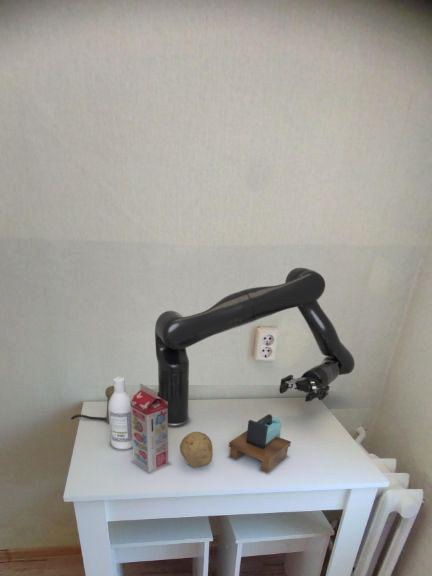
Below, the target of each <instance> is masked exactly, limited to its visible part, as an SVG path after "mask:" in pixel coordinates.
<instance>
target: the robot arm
mask: <svg viewBox="0 0 432 576" xmlns="http://www.w3.org/2000/svg"><path fill="white" fill-rule="evenodd" d="M325 289H326V281H325V278H324V276H323V275H321V274H320V273H319V272H317V271H315V270H314V269H313V270H312V269H309V268H307V267H300V266H299V267H295V268H293V269H291V270H290V271H289V272H288V274H287V275H286V277H285V281H284V283H281V284H277V285H267V286H256V287H250V288H245V289H242V290H239V291H237V292H233V293H230V294H227V295H226V296H224V297H223V298H221V299H220V300H218V301H217V302H216V303H215V304H213V305H212V306H211V307H210V308H207V309H206V310H204V311H201V312H197V313H194V314H191V315H186V316H183V315H182V314H181V313H180V312H178V311H175V310H167V311H163V312H162V313H161V314H160V315H158V317H157V319H156V321H155V325H154V336H155V337H154V342H155V343H154V344H155V357H156V360H157V361H156V362H157V381H158V390H157V392H158V397H160V398H162V399H164V400H166V401H167V402H168V427H174V428H175V427H181V426H185V425H186V424H187V423H188V422H189V393H190V392H189V391H190V390H189V389H190V387H189V386H190V385H189V384H190V360H189V357H188V353H187V348H189V347H191V346H194V345H196V344H197V343H200V342H202V341H203V340H205V339H207V338H210V337H212V336H215V335H219V334H221V333H224V332H227V331H230V330H233V329H237V328H240V327H242V326H245V325H248V324H251V323H254V322H256V321H258V320H261V319H264V318H267V317H269V316H272V315H275V314H277V313H280V312H283V311H286V310H289V309H294V308H297V309H298V311H299V312H300V314H301V316H302V317H303V319H304V321H305V322H306V324H307V326H308V328H309V330H310V332H311V335H312V336H313V338H314V340H315V343H316V345H317V348H318V350H319V351H320V353H321V354H322V355H323V356H325V357H323V359H322V361H321V363H320V364H317V365H315V366H313V367H312V368H310V369H307V370H306V371H305V372H303V374H302V375H301V376H300V377H297V378H294V375H293V374H289V375H287V376H285V377H283V378H281V379H280V385H279V390H278V392H279V394H281V395H282V394H284V393H286V392H288V391H292V392H298V391H299V392H304V393H306V395H305V399H304V402H305V403H309V402H312V401H313V400H316V399H318V400H319V401H323V400H324V399H325V398H326V397H327V396H328V395H329V392H330V388H331V387H330V384H331V383H332V382H334V381H335V380H336V379H337V378H338V377H339V376H342V375H343V376H344V375H349V374H350V373H352V372H353V371H354V369H355V365H356V364H355V358H354V356H353V354H352V353H351V352H350V350H349V349H348V348H347V347H346V346H345V345H344V344H343V343H342V342H341V340H340V337H339V335H338V332H337V330H336V327H335V326H334V324H333V322H332V321H331V320H330V318H329V317H328V315H327V314H326V313H325V311H324V310H323V308H322V307H321V306H320V303H319V302H318V300H319V299H321V297H322V296H323V294H324V293H325ZM76 418H85V419H87V420H100V421H107V417H100V416H89V415H86V414H74V415H73V416H71V418H70V420H72V421H73V420H75V419H76Z"/></svg>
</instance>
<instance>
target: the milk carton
mask: <svg viewBox="0 0 432 576" xmlns="http://www.w3.org/2000/svg"><path fill="white" fill-rule="evenodd" d="M139 385H140V386H139V388H140V389H139V390H138V391H137V392H136V393H135V394H134V395H133V396H132V397H130V398H131V399H130V403H131V421H132V440H133V447H132V455H133V463H134V464H135V465H138V466H139V467H140V468H141V469H143V470H144V471H146V472H147V473H151V472H153V471H155V470H157V469H160V468H162V467H164V466H167V465H168V464H169V426H168V402H167V401H166V400H164V399H162V398H160V397H158V391H156V390H154V389H152V388H150V387H148V386H147V385H144V384H142V383H140V384H139Z"/></svg>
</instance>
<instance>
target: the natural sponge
mask: <svg viewBox="0 0 432 576" xmlns="http://www.w3.org/2000/svg"><path fill="white" fill-rule="evenodd" d="M213 449H214V448H213V444H212V440H211V438H210V437H209V435H207V434H206V433H203V432H202V431H201V432H200V431H193V432H190V433H188V434H187V435H185V436H184V437H183V438H182V440H181V442H180V444H179V452H180V454H181V456H182V458H183V460H184V461H185V462H186V463H187V464H188V465H189V466H191V467H193V468H200V467H203V466H208V465H210V464H211V463H212V461H213V457H214V452H213V451H214V450H213Z"/></svg>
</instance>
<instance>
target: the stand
mask: <svg viewBox="0 0 432 576" xmlns="http://www.w3.org/2000/svg"><path fill="white" fill-rule="evenodd" d="M246 440H247V430H245V431H244V432H243V433H241V434H240V435H238V436H237V437H235V438H233V439H232V440H231V441H229V442H228V448H230V451H229V458H231V459H233V460H237V459H239V458H240V457H242V456H243V455H247V456H250V457H252V458H255V459H256V460H259V461H261V469H260V471H261V472H263V473H265V474H269V472H270V471H271V470H273V469H274V468H275V467H276V466H278V465H279V464H280V463H281V462H283V461H284V460H285V459H286V458H287V457H288V451H289V448H290V447H291V441H290V440H288V439H285V438H283V437H281V436H280V437H279V438H278V439H276V440H275V441H274V442H272V443H271V444H270V445H268V446H267V447H266V448H265V449H261V448H258V447H256V446H253V445H251V444H248V443H246Z"/></svg>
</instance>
